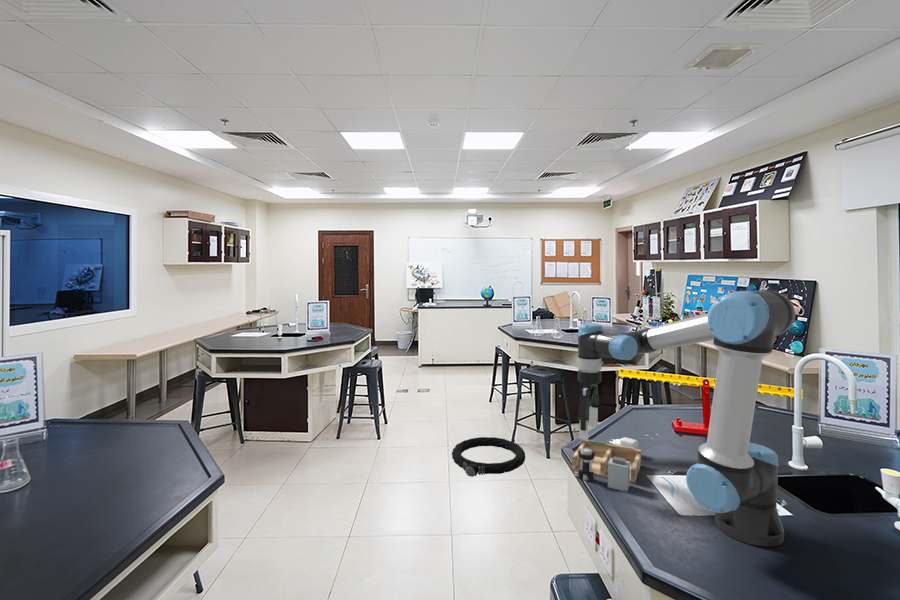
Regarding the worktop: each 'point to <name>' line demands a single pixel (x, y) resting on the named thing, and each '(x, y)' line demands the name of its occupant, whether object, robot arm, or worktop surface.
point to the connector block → (619, 474)
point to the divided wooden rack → (608, 457)
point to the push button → (586, 464)
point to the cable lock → (487, 468)
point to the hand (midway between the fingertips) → (588, 432)
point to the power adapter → (625, 442)
